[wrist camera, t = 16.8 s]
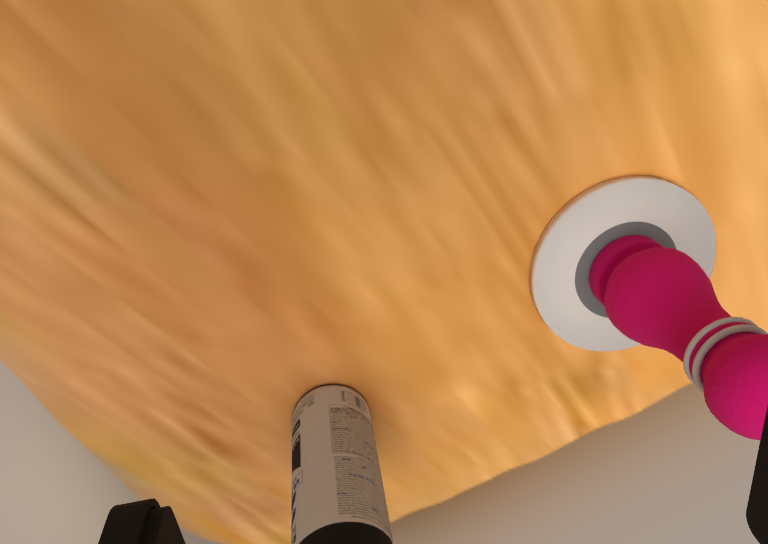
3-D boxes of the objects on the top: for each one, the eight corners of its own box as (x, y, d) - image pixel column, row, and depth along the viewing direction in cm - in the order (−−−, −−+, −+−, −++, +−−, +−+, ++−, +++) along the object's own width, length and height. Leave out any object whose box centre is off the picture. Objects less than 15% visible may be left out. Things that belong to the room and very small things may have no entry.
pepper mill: (656, 311, 51) (854, 487, 33) (574, 311, 50) (731, 493, 32) (679, 228, 48) (911, 372, 30) (592, 226, 47) (777, 374, 29)
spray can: (282, 392, 51) (274, 613, 33) (361, 372, 52) (395, 582, 34) (303, 452, 54) (306, 684, 36) (378, 433, 54) (417, 655, 37)
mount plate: (528, 190, 46) (534, 196, 45) (717, 162, 47) (729, 167, 46) (529, 356, 53) (535, 365, 52) (696, 328, 54) (705, 337, 53)
